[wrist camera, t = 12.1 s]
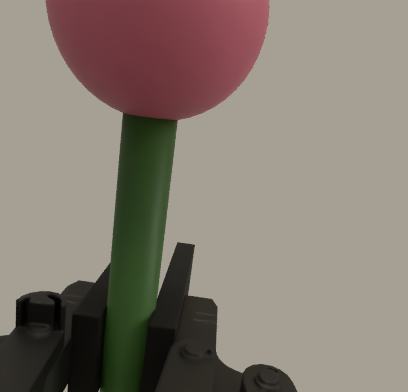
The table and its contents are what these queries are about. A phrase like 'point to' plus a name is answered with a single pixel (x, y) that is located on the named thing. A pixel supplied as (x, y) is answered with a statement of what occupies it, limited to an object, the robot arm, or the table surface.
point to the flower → (150, 127)
